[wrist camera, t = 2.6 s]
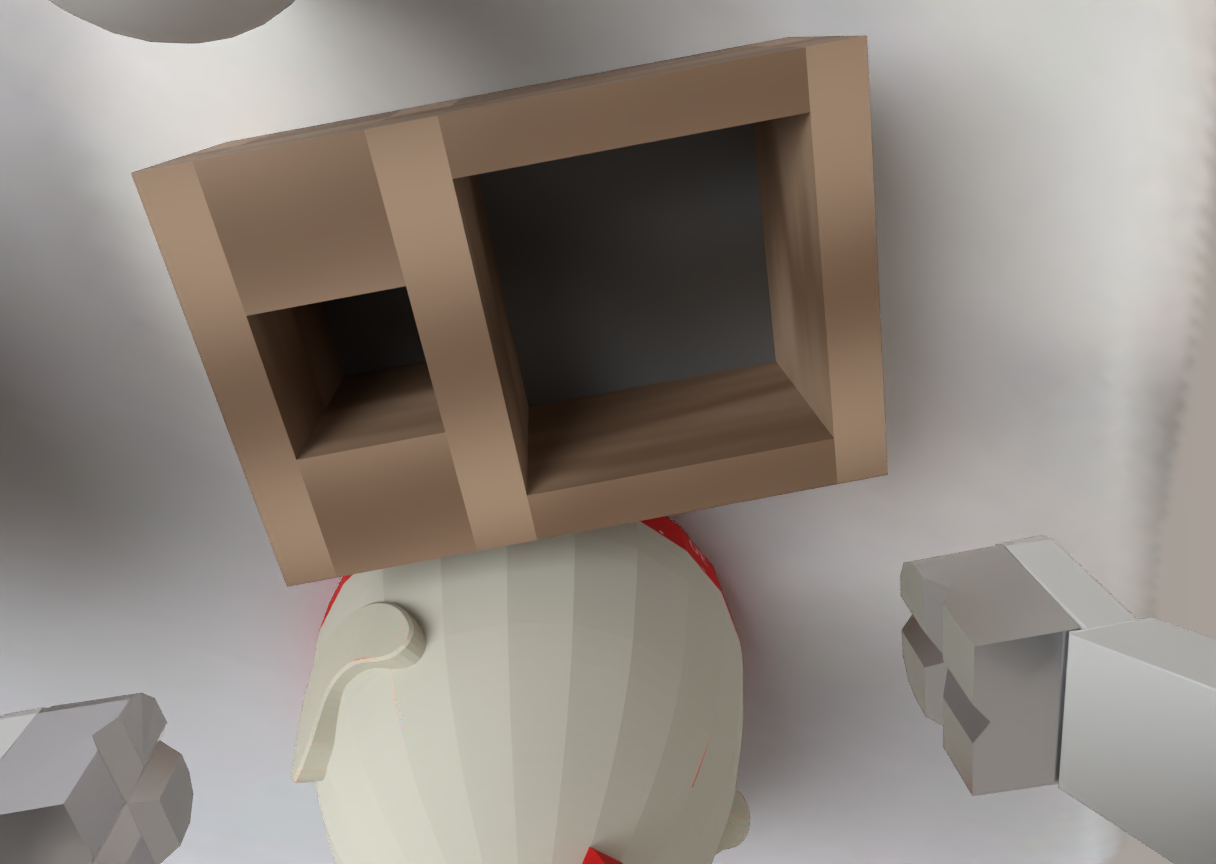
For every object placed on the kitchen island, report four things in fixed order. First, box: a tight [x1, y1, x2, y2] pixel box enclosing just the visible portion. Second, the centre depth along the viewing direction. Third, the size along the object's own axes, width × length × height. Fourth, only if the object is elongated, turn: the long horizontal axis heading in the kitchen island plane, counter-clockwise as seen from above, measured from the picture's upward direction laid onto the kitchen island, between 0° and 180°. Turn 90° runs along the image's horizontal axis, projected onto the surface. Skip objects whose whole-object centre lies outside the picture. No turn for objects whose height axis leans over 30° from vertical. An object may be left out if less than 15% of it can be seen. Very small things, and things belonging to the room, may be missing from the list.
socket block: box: [131, 36, 888, 587], centre depth 23 cm, size 10×15×6 cm, turn 100°
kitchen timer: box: [291, 516, 750, 864], centre depth 24 cm, size 14×14×15 cm
